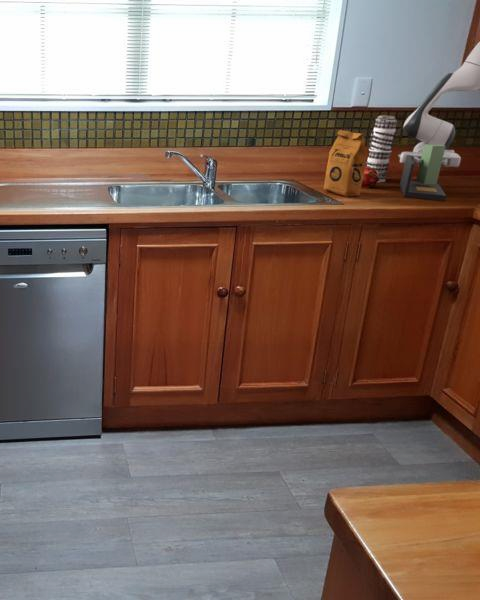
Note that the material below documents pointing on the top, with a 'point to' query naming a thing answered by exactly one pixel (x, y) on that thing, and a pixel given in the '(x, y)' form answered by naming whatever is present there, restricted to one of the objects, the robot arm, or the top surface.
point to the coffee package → (346, 164)
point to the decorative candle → (381, 145)
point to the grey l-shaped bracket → (418, 185)
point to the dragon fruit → (369, 177)
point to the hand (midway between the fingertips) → (431, 162)
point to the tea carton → (430, 163)
